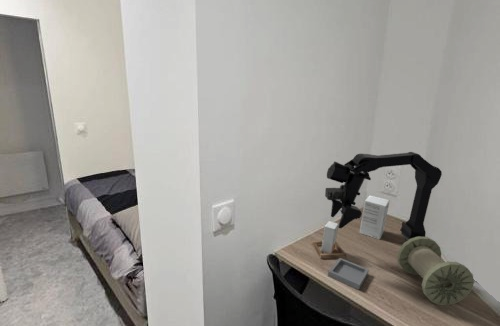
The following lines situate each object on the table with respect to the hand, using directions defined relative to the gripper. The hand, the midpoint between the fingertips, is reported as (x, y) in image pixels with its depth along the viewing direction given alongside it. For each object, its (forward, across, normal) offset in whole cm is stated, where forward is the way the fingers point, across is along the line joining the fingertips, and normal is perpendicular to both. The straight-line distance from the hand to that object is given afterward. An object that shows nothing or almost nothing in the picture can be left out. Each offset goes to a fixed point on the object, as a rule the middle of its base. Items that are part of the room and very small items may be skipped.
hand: (335, 222), depth 107 cm
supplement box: (+8, -21, +29) cm, 37 cm away
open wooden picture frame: (+15, -4, +4) cm, 16 cm away
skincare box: (+15, -4, +4) cm, 16 cm away
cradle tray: (+14, +12, +7) cm, 19 cm away
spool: (+7, +17, +32) cm, 37 cm away
